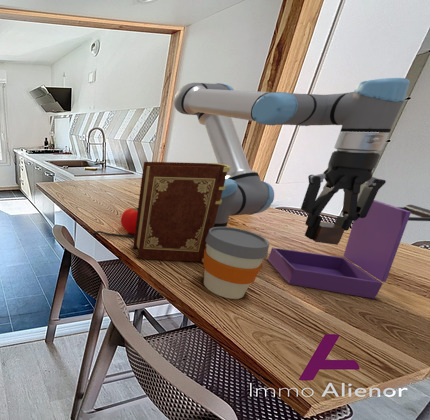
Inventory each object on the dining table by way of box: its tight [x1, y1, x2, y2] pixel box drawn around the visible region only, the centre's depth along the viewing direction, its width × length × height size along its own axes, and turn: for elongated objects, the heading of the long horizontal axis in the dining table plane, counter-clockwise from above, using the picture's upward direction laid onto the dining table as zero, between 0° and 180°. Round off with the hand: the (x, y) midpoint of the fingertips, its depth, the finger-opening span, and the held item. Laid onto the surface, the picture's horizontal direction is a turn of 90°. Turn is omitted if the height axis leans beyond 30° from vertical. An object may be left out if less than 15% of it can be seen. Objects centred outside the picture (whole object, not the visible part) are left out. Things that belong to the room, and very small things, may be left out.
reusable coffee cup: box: [202, 226, 270, 300], centre depth 62 cm, size 13×12×15 cm
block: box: [312, 221, 345, 246], centre depth 65 cm, size 4×4×4 cm
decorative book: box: [132, 161, 230, 263], centre depth 76 cm, size 22×8×30 cm, turn 84°
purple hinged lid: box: [343, 199, 430, 283], centre depth 61 cm, size 18×13×9 cm
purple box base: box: [267, 247, 384, 300], centre depth 68 cm, size 17×13×5 cm
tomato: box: [120, 207, 138, 235], centre depth 96 cm, size 12×12×10 cm
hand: (321, 238), depth 66 cm, fingers closed on block, 4 cm apart
